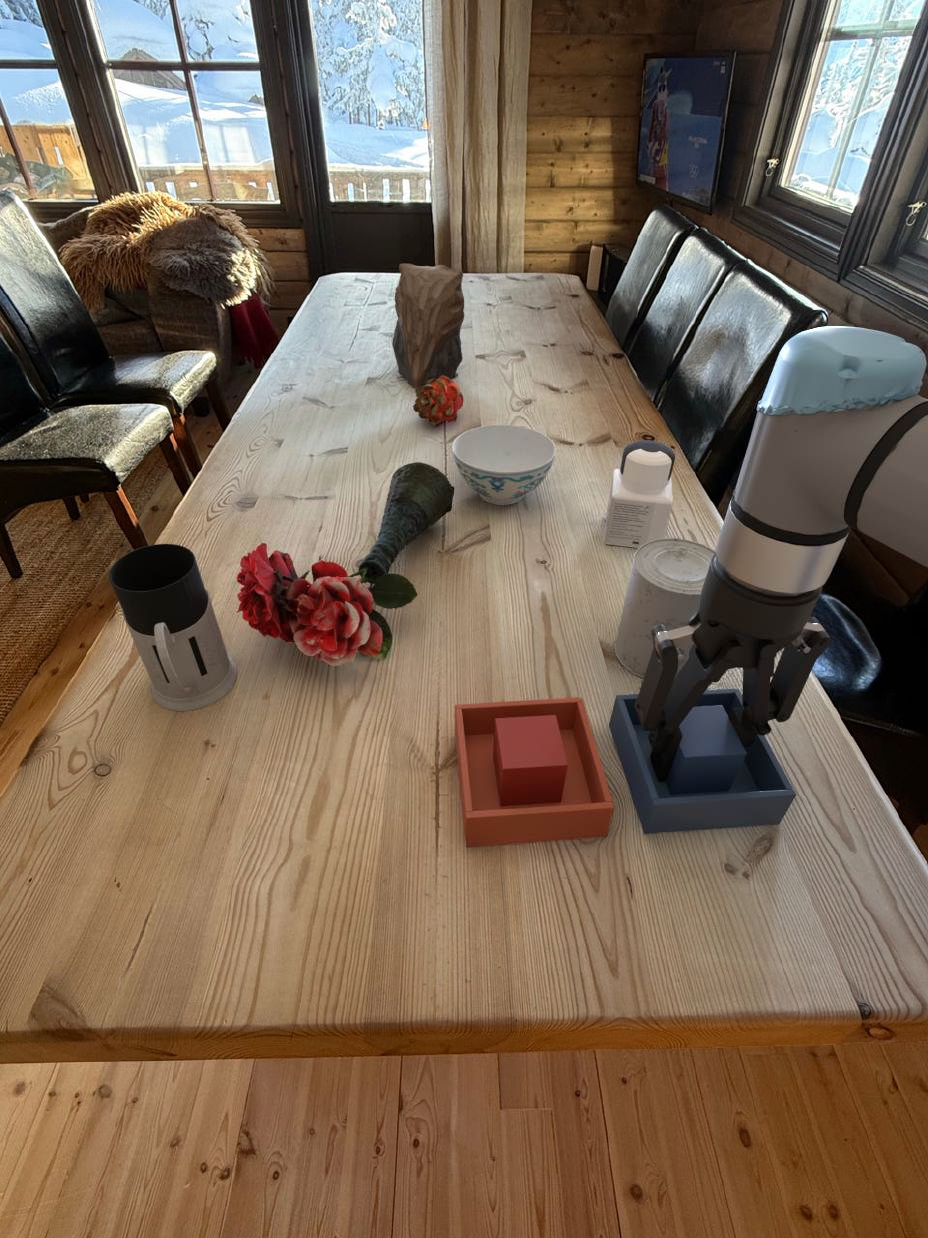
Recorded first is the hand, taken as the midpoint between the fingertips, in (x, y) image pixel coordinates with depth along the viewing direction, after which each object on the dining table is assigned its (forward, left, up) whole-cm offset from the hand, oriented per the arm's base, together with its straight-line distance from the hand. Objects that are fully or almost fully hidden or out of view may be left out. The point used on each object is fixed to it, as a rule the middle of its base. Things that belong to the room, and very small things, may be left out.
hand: (690, 766), depth 61 cm
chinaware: (+52, +11, -1) cm, 53 cm away
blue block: (0, 0, 0) cm, 0 cm away
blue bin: (0, 0, -1) cm, 1 cm away
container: (+40, -6, -1) cm, 40 cm away
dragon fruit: (+79, +19, -1) cm, 81 cm away
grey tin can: (+16, -2, -1) cm, 16 cm away
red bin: (0, +16, -1) cm, 16 cm away
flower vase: (+30, +31, -1) cm, 43 cm away
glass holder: (+13, +48, -1) cm, 50 cm away
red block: (0, +16, 0) cm, 16 cm away
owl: (+100, +21, -1) cm, 102 cm away
